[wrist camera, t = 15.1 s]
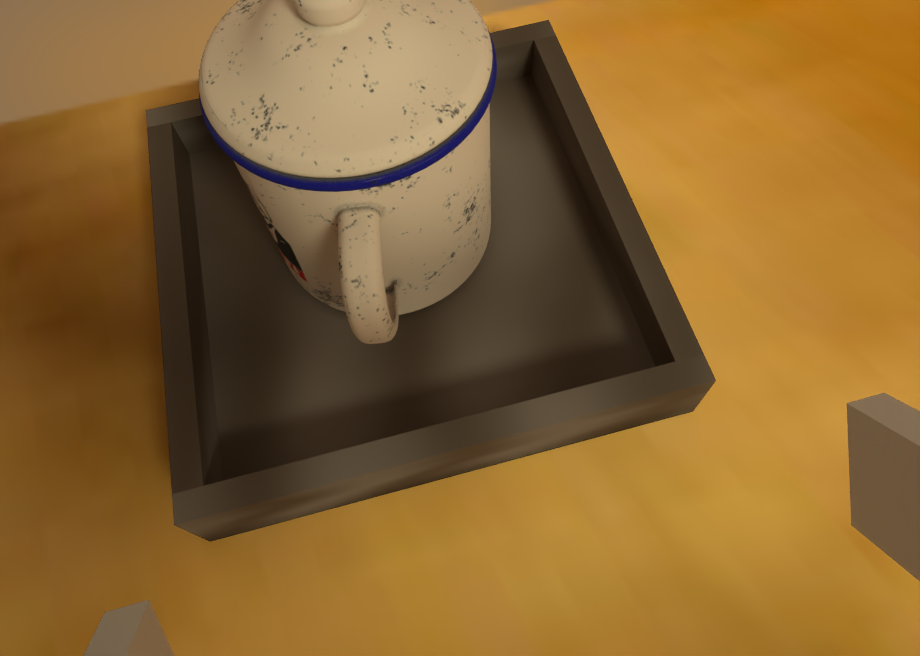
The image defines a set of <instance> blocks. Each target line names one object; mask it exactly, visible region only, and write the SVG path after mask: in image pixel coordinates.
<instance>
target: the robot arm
mask: <svg viewBox="0 0 920 656" xmlns="http://www.w3.org/2000/svg"><path fill="white" fill-rule="evenodd" d="M847 421H848V447H849V474H850V500H851V525H852V526H853V527H854V528H856V529H857V530H858V531H859V532H861V533H862V534H863V535H864V536H865V537H867V538H868V539H869V540H870V541H871V542H873V543H874V544H875V545H876V546H878V547H879V548H880V549H881V550H882V551H884V552H885V553H886V554H887V555H888V556H890V557H891V558H892V559H893V560H895V561H896V562H897V563H898V564H899V565H901V566H902V567H903V568H904V569H906V570H907V571H908V572H909V573H910V574H912V575H913V576H914V577H915V578H916V579H918V580H919V581H920V411H918V410H916V409H914V408H912V407H910V406H908V405H907V404H905V403H903V402H901V401H899V400H897V399H895V398H893V397H891V396H889V395H888V394H886V393H882V394H878V395H875V396H871V397H867V398H864V399H860V400H857V401H853V402H850V403H847ZM84 656H174V654H173V652H172V650H171V647H170V645H169V643H168V641H167V638H166V636H165V634H164V632H163V630H162V627H161V625H160V623H159V621H158V619H157V616H156V614H155V612H154V610H153V608H152V605H151V603H150V601H149V600H147V601H143V602H140V603H136V604H133V605H129V606H126V607H122V608H118V609H115V610H111V611H108V612H105V613H104V615H103V617H102V619H101V621H100V623H99V625H98V627H97V629H96V631H95V633H94V635H93V637H92V639H91V641H90V644H89V646H88V648H87V650H86V652H85V654H84Z"/></svg>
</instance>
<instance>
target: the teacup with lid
mask: <svg viewBox="0 0 920 656" xmlns="http://www.w3.org/2000/svg"><path fill="white" fill-rule="evenodd" d="M496 76H497V59H496V52H495V47H494V43H493V41H492V38H491V35H490V33H489V31H488V29H487V26H486V24H485V22H484V20H483V18H482V16H481V15H480V13H479V12H478V10H477V9H476V7H475V6H474V5H473V3H472V2H471V1H470V0H239V1H238V2H237V3H236V4H235V5H233V6H232V7H231V8H230V10H229V11H228V12H227V13H226V14H225V15H224V16H223V18H222V19H221V20H220V22H219V23H218V24H217V26H216V27H215V29H214V31H213V33H212V34H211V36H210V38H209V40H208V42H207V44H206V47H205V50H204V53H203V56H202V60H201V65H200V70H199V98H200V106H201V111H202V115H203V118H204V121H205V123H206V126H207V128H208V130H209V132H210V133H211V135H212V137H213V138H214V140H215V141H216V143H217V144H218V145H219V147H220V148H221V149H222V150H223V151H224V152H225V153H226V154H227V155H228V156H229V157H230V158H231V159H232V160H234V162H235V164H236V166H237V168H238V170H239V172H240V174H241V176H242V178H243V180H244V182H245V184H246V186H247V188H248V190H249V192H250V194H251V196H252V198H253V199H254V201H255V203H256V205H257V207H258V209H259V211H260V213H261V215H262V217H263V219H264V221H265V223H266V225H267V227H268V229H269V231H270V233H271V235H272V237H273V239H274V241H275V242H276V244H277V246H278V248H279V250H280V252H281V254H282V256H283V258H284V260H285V262H286V264H287V266H288V268H289V270H290V271H291V273H292V275H293V276H294V277H295V279H296V280H297V281H298V283H299V284H300V285H301V286H302V287H303V288H304V289H305V290H306V291H307V292H308V293H310V294H311V295H312V296H313V297H315V298H316V299H318V300H319V301H321V302H323V303H324V304H326V305H328V306H330V307H333V308H335V309H338V310H341V311H344V312H346V315H347V319H348V322H349V325H350V327H351V329H352V331H353V333H354V335H355V336H356V337H357V338H358V339H359V340H360V341H361V342H363V343H366V344H377V343H385V342H388V341H390V340H392V339H393V337H394V336H395V334H396V332H397V328H398V319H399V315H402V314H406V313H411V312H414V311H417V310H420V309H423V308H425V307H428V306H430V305H432V304H434V303H436V302H438V301H440V300H442V299H443V298H445V297H446V296H448V295H449V294H451V293H452V292H453V291H454V290H456V289H457V288H458V287H459V286H460V285H461V284H462V283H463V282H465V281H466V279H467V278H468V277H469V276H470V275H471V274H472V272H473V271H474V270H475V268H476V267H477V265H478V264H479V262H480V260H481V258H482V257H483V254H484V252H485V249H486V247H487V243H488V240H489V235H490V229H491V179H490V104H489V103H490V101H491V98H492V95H493V92H494V88H495V83H496Z"/></svg>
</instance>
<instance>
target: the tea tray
mask: <svg viewBox="0 0 920 656" xmlns="http://www.w3.org/2000/svg"><path fill="white" fill-rule="evenodd" d="M490 35H491V38H492V41H493V43H494V47H495V52H496V59H497V76H496V83H495V88H494V92H493V95H492V98H491V101H490V103H489V104H490V179H491V229H490V235H489V240H488V243H487V247H486V249H485V252H484V254H483V257H482V258H481V260H480V262H479V264H478V265H477V267H476V268H475V270H474V271H473V272H472V274H471V275H470V276H469V277H468V278H467V279H466V281H465V282H463V283H462V284H461V285H460V286H459V287H458V288H457V289H456V290H454V291H453V292H452V293H451V294H449V295H448V296H446V297H445V298H443V299H442V300H440V301H438V302H436V303H434V304H432V305H430V306H428V307H425V308H423V309H420V310H417V311H414V312H411V313H406V314H402V315H399V319H398V328H397V332H396V334H395V336H394V337H393V339H392V340H390V341H388V342H385V343H377V344H366V343H363V342H361V341H360V340H359V339H358V338H357V337H356V336H355V335H354V333H353V331H352V329H351V327H350V325H349V322H348V319H347V315H346V312H344V311H341V310H338V309H335V308H333V307H330V306H328V305H326V304H324V303H323V302H321V301H319V300H318V299H316V298H315V297H313V296H312V295H311V294H310V293H308V292H307V291H306V290H305V289H304V288H303V287H302V286H301V285H300V284H299V283H298V281H297V280H296V279H295V277H294V276H293V275H292V273H291V271H290V270H289V268H288V266H287V264H286V262H285V260H284V258H283V256H282V254H281V252H280V250H279V248H278V246H277V244H276V242H275V241H274V239H273V237H272V235H271V233H270V231H269V229H268V227H267V225H266V223H265V221H264V219H263V217H262V215H261V213H260V211H259V209H258V207H257V205H256V203H255V201H254V199H253V198H252V196H251V194H250V192H249V190H248V188H247V186H246V184H245V182H244V180H243V178H242V176H241V174H240V172H239V170H238V168H237V166H236V164H235V162H234V160H232V159H231V158H230V157H229V156H228V155H227V154H226V153H225V152H224V151H223V150H222V149H221V148H220V147H219V145H218V144H217V143H216V141H215V140H214V138H213V137H212V135H211V133H210V132H209V130H208V128H207V126H206V123H205V121H204V118H203V115H202V111H201V106H200V98H199V99H195V100H190V101H186V102H181V103H177V104H172V105H168V106H163V107H159V108H155V109H150V110H146V117H147V132H148V146H149V161H150V176H151V190H152V205H153V220H154V234H155V249H156V264H157V278H158V293H159V308H160V322H161V337H162V352H163V366H164V381H165V396H166V410H167V425H168V440H169V454H170V469H171V484H172V498H173V513H174V525H175V526H177V527H180V528H182V529H184V530H186V531H188V532H191V533H193V534H195V535H197V536H199V537H201V538H204V539H206V540H208V541H214V540H217V539H221V538H225V537H228V536H232V535H236V534H240V533H243V532H247V531H251V530H254V529H258V528H262V527H266V526H269V525H273V524H277V523H280V522H284V521H288V520H292V519H295V518H299V517H303V516H306V515H310V514H314V513H317V512H321V511H325V510H329V509H332V508H336V507H340V506H343V505H347V504H351V503H355V502H358V501H362V500H366V499H369V498H373V497H377V496H381V495H384V494H388V493H392V492H395V491H399V490H403V489H407V488H410V487H414V486H418V485H421V484H425V483H429V482H433V481H436V480H440V479H444V478H447V477H451V476H455V475H458V474H462V473H466V472H470V471H473V470H477V469H481V468H484V467H488V466H492V465H496V464H499V463H503V462H507V461H510V460H514V459H518V458H522V457H525V456H529V455H533V454H536V453H540V452H544V451H548V450H551V449H555V448H559V447H562V446H566V445H570V444H574V443H577V442H581V441H585V440H588V439H592V438H596V437H599V436H603V435H607V434H611V433H614V432H618V431H622V430H625V429H629V428H633V427H637V426H640V425H644V424H648V423H651V422H655V421H659V420H663V419H666V418H670V417H674V416H677V415H681V414H685V413H689V412H692V411H694V409H695V408H696V407H697V405H698V404H699V403H700V401H701V400H702V399H703V397H704V396H705V395H706V393H707V392H708V391H709V389H710V388H711V386H712V385H713V384H714V382H715V381H716V380H715V378H714V375H713V373H712V371H711V369H710V367H709V365H708V362H707V360H706V358H705V356H704V354H703V352H702V350H701V347H700V345H699V343H698V341H697V339H696V337H695V334H694V332H693V330H692V328H691V326H690V324H689V321H688V319H687V317H686V315H685V313H684V311H683V309H682V306H681V304H680V302H679V300H678V298H677V296H676V293H675V291H674V289H673V287H672V285H671V283H670V281H669V278H668V276H667V274H666V272H665V270H664V268H663V265H662V263H661V261H660V259H659V257H658V255H657V253H656V250H655V248H654V246H653V244H652V242H651V240H650V237H649V235H648V233H647V231H646V229H645V227H644V225H643V222H642V220H641V218H640V216H639V214H638V212H637V209H636V207H635V205H634V203H633V201H632V199H631V196H630V194H629V192H628V190H627V188H626V186H625V184H624V181H623V179H622V177H621V175H620V173H619V171H618V168H617V166H616V164H615V162H614V160H613V158H612V156H611V153H610V151H609V149H608V147H607V145H606V143H605V140H604V138H603V136H602V134H601V132H600V130H599V128H598V125H597V123H596V121H595V119H594V117H593V115H592V112H591V110H590V108H589V106H588V104H587V102H586V100H585V97H584V95H583V93H582V91H581V89H580V87H579V84H578V82H577V80H576V78H575V76H574V74H573V71H572V69H571V67H570V65H569V63H568V61H567V59H566V56H565V54H564V52H563V50H562V48H561V46H560V43H559V41H558V39H557V37H556V35H555V33H554V31H553V28H552V26H551V24H550V22H549V20H546V21H542V22H537V23H533V24H529V25H524V26H520V27H515V28H511V29H506V30H502V31H497V32H493V33H490Z"/></svg>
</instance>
